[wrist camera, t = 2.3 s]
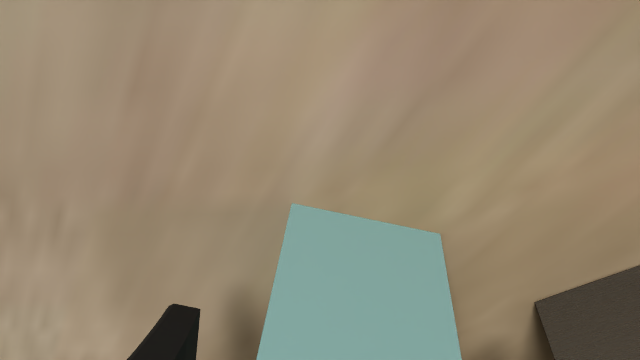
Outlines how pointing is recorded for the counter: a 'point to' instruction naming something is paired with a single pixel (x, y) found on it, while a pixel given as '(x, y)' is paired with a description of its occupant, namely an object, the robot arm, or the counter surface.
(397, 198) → the counter surface
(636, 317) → the socket
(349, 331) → the peg
